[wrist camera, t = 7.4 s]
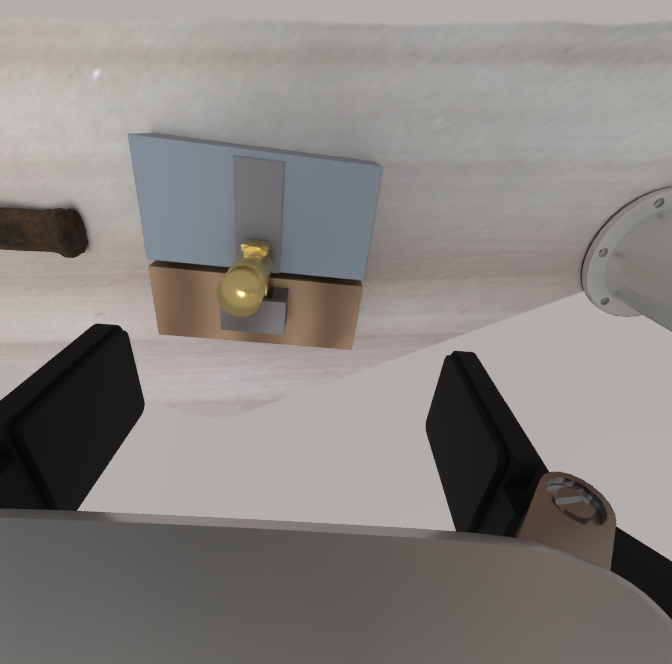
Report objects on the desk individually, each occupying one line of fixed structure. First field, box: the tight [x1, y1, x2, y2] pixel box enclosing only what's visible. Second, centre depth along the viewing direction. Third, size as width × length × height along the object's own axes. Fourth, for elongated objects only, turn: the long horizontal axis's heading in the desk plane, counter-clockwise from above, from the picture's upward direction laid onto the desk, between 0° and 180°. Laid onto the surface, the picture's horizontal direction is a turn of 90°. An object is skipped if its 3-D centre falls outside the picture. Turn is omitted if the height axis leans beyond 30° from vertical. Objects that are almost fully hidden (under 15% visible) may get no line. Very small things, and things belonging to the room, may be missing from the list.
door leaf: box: [128, 133, 383, 280], centre depth 29 cm, size 18×9×4 cm, turn 83°
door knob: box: [216, 239, 273, 317], centre depth 26 cm, size 3×7×7 cm, turn 173°
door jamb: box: [148, 260, 362, 350], centre depth 32 cm, size 18×7×7 cm, turn 83°
